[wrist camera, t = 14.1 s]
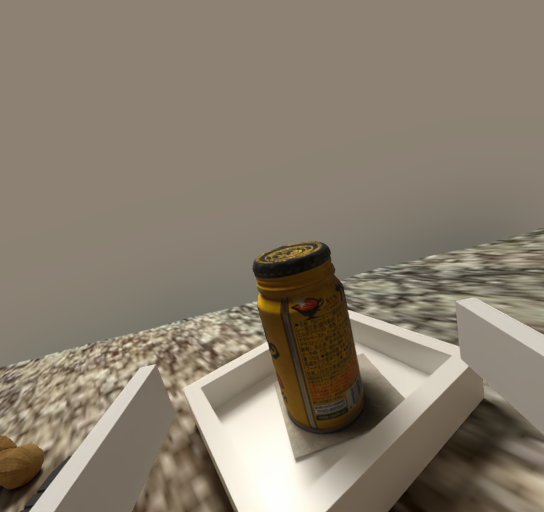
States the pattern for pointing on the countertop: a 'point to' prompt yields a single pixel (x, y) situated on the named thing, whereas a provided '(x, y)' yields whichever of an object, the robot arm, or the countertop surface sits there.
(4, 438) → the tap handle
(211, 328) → the countertop surface
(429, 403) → the tray
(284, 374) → the condiment
